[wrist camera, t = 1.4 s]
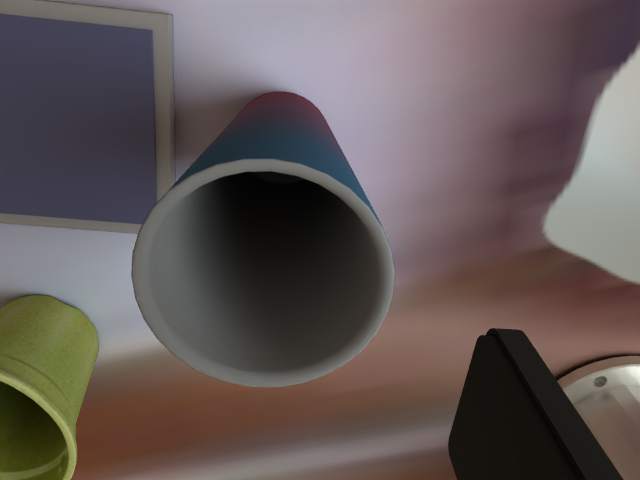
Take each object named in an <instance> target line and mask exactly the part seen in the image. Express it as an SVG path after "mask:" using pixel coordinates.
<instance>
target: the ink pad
mask: <svg viewBox="0 0 640 480" xmlns="http://www.w3.org/2000/svg"><path fill="white" fill-rule="evenodd" d="M174 184H175V137H174V55H173V14H164V13H155V12H146V11H137V10H128V9H119V8H110V7H101V6H92V5H83V4H74V3H64V2H55V1H46V0H0V223H7V224H20V225H33V226H45V227H58V228H71V229H83V230H96V231H109V232H122V233H134V234H138V233H139V230H140V228H141V226H142V224H143V223H144V221H145V219H146V217H147V216H148V214H149V212H150V210H151V209H152V208H153V207H154V205H155V204H156V203H157V202H158V201H159V200H160V199H161V198H162V197H163V196H164V195H165V194H166V192H167V191H168V190H169V189H170V188H171V187H172V186H173V185H174Z"/></svg>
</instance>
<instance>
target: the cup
mask: <svg viewBox="0 0 640 480" xmlns="http://www.w3.org/2000/svg"><path fill="white" fill-rule="evenodd" d="M394 272H395V270H394V264H393V258H392V251H391V247H390V244H389V242H388V239H387V237H386V234H385V232H384V229H383V227H382V225H381V223H380V221H379V219H378V217H377V215H376V214H375V212H374V210H373V208H372V206H371V204H370V202H369V200H368V199H367V197H366V195H365V193H364V191H363V189H362V187H361V185H360V184H359V182H358V180H357V178H356V176H355V174H354V172H353V170H352V169H351V167H350V165H349V163H348V161H347V159H346V157H345V155H344V154H343V152H342V150H341V148H340V146H339V144H338V142H337V140H336V139H335V137H334V135H333V133H332V131H331V129H330V127H329V126H328V124H327V122H326V120H325V118H324V116H323V115H322V113H321V112H320V110H319V109H318V108H317V107H316V106H315V105H314V104H313V103H311V102H310V101H308V100H307V99H306V98H304V97H302V96H299V95H297V94H294V93H289V92H273V93H268V94H264V95H262V96H260V97H258V98H256V99H254V100H253V101H252V102H250V103H249V104H248V105H247V106H246V107H245V108H244V109H243V110H242V111H241V113H240V114H239V115H238V116H237V117H236V118H235V119H234V120H233V121H232V122H231V123H230V124H229V126H228V127H227V128H226V129H225V130H224V131H223V132H222V133H221V134H220V135H219V136H218V137H217V138H216V140H215V141H214V142H213V143H212V144H211V145H210V146H209V147H208V148H207V149H206V150H205V151H204V153H203V154H202V155H201V156H200V157H199V158H198V159H197V160H196V161H195V162H194V163H193V164H192V165H191V167H190V168H189V169H188V170H187V171H186V172H185V173H184V174H183V175H182V176H181V177H180V178H179V180H178V181H177V182H176V183H175V184H174V185H173V186H172V187H171V188H170V189H169V190H168V191H167V192H166V194H165V195H164V196H163V197H162V198H161V199H160V200H159V201H158V202H157V203H156V204H155V205H154V207H153V208H152V209H151V210H150V212H149V214H148V216H147V217H146V219H145V221H144V223H143V224H142V226H141V228H140V230H139V233H138V236H137V240H136V243H135V246H134V250H133V256H132V275H131V276H132V282H133V287H134V293H135V299H136V301H137V303H138V306H139V308H140V311H141V313H142V316H143V318H144V320H145V322H146V323H147V325H148V326H149V328H150V329H151V331H152V332H153V333H154V335H155V336H156V338H157V339H158V340H159V341H160V342H161V343H162V344H163V345H164V346H165V347H166V348H167V349H168V350H169V351H170V352H171V353H172V354H173V355H174V356H176V357H177V358H178V359H180V360H181V361H183V362H184V363H186V364H187V365H188V366H190V367H191V368H193V369H195V370H197V371H199V372H202V373H204V374H206V375H208V376H210V377H212V378H215V379H218V380H222V381H225V382H229V383H232V384H236V385H243V386H251V387H284V386H289V385H294V384H300V383H305V382H308V381H310V380H313V379H316V378H319V377H322V376H325V375H327V374H328V373H330V372H332V371H334V370H336V369H337V368H339V367H341V366H343V365H345V364H346V363H347V362H348V361H350V360H351V359H352V358H353V357H355V356H356V355H357V354H358V353H360V352H361V351H362V350H363V349H364V348H365V346H366V345H367V344H368V343H369V342H370V340H371V339H372V338H373V337H374V336H375V334H376V333H377V331H378V329H379V328H380V326H381V324H382V322H383V320H384V318H385V317H386V315H387V312H388V309H389V305H390V302H391V298H392V295H393V287H394Z"/></svg>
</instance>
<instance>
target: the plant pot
mask: <svg viewBox="0 0 640 480" xmlns="http://www.w3.org/2000/svg"><path fill="white" fill-rule="evenodd" d="M98 350H99V340H98V335H97V332H96V329H95V327H94V325H93V324H92V322H91V321H90V320H89V318H88V317H87V316H86V315H85V314H84V313H83V312H82V311H80V310H79V309H77V308H74V307H71V306H68V305H66V304H64V303H62V302H60V301H58V300H56V299H55V298H53V297H50V296H43V295H32V296H25V297H21V298H18V299H15V300H13V301H11V302H9V303H8V304H6V305H5V306H4V307H2V308H1V309H0V480H70V479H71V478H72V475H73V473H74V469H75V466H76V462H77V444H76V439H75V438H76V422H77V418H78V415H79V412H80V408H81V405H82V402H83V398H84V395H85V392H86V389H87V386H88V383H89V379H90V376H91V373H92V370H93V367H94V364H95V361H96V358H97V355H98Z"/></svg>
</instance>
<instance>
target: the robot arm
mask: <svg viewBox="0 0 640 480" xmlns="http://www.w3.org/2000/svg"><path fill="white" fill-rule="evenodd" d="M448 447H449V455H450V459H451V462H452V465H453V468H454V471H455V474H456V477H457V480H640V356H624V357H614V358H610V359H605V360H601V361H597V362H594V363H591V364H589V365H586V366H584V367H581V368H578V369H576V370H574V371H573V372H571V373H569V374H567V375H566V376H564V377H562V378H560V379H559V380H558V381H557V380H556V379H555V377H554V376H553V375H552V373H551V372H550V370H549V369H548V367H547V366H546V364H545V363H544V361H543V360H542V358H541V357H540V355H539V354H538V352H537V351H536V349H535V348H534V346H533V345H532V343H531V342H530V341H529V339H528V338H527V336H526V335H525V333H524V332H523V331H521V330H513V329H496V328H492V329H489V331H488V332H487V334H486V335H481V336H479V338H478V339H477V342H476V345H475V349H474V352H473V356H472V359H471V363H470V366H469V370H468V373H467V377H466V380H465V384H464V387H463V391H462V394H461V398H460V401H459V405H458V408H457V412H456V415H455V419H454V422H453V426H452V429H451V433H450V436H449V443H448Z"/></svg>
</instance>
